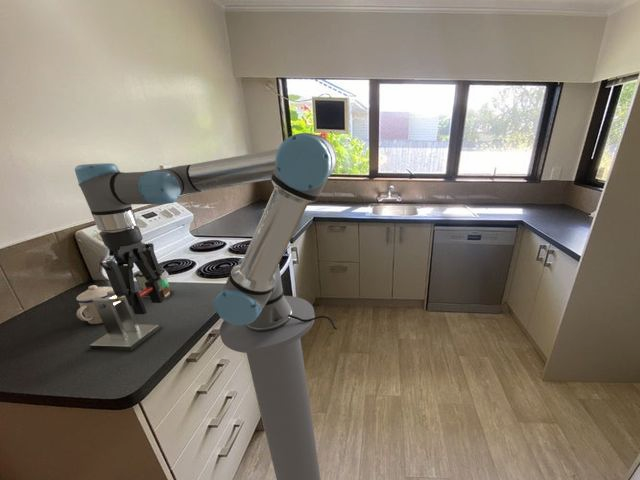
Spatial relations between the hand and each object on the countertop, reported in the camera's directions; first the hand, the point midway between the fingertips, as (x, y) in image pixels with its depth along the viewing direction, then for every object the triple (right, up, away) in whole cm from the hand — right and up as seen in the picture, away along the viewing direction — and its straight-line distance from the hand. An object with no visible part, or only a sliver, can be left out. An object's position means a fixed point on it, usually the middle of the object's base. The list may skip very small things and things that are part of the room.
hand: (149, 307), depth 81 cm
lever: (-5, +2, -1) cm, 6 cm away
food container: (-19, 0, +29) cm, 35 cm away
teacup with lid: (-27, -7, +14) cm, 31 cm away
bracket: (-11, -10, +5) cm, 15 cm away
